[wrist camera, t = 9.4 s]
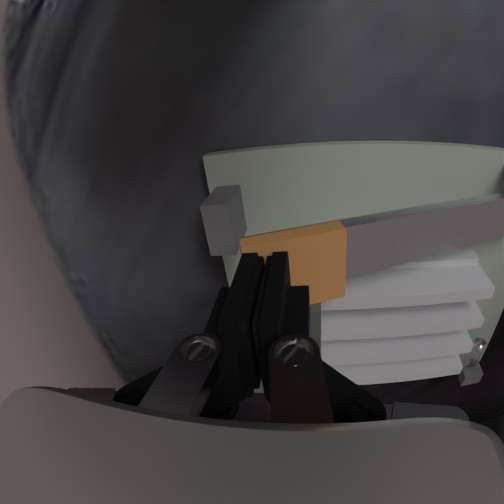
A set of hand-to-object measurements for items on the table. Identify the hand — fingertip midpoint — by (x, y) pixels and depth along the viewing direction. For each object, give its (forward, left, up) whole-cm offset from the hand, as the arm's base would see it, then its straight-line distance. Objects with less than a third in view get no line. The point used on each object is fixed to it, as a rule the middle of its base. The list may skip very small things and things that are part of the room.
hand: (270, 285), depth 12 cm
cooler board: (-7, +6, -9) cm, 13 cm away
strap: (-7, 0, -5) cm, 9 cm away
